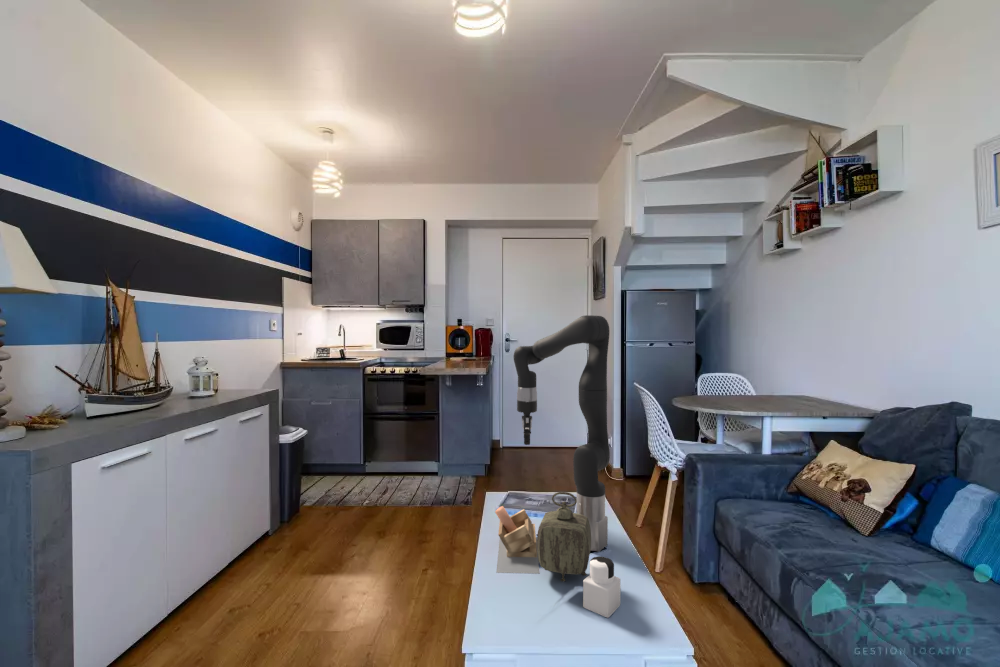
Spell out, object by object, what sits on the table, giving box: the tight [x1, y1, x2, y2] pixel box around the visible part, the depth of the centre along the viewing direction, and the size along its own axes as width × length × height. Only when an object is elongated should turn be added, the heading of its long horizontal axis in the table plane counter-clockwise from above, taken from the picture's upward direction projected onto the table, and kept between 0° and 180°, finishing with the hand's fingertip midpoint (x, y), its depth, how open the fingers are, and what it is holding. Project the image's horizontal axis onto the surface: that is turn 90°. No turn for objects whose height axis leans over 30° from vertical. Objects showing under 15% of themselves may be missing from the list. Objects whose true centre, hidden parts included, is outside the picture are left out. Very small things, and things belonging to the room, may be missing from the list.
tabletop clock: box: [536, 491, 591, 582], centre depth 131 cm, size 14×9×25 cm, turn 74°
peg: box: [494, 505, 517, 533], centre depth 148 cm, size 3×3×11 cm
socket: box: [498, 508, 537, 557], centre depth 148 cm, size 12×13×10 cm
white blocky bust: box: [582, 555, 621, 619], centre depth 119 cm, size 7×7×12 cm
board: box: [495, 536, 541, 575], centre depth 144 cm, size 23×12×1 cm, turn 177°
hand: (526, 441), depth 175 cm, fingers open, 8 cm apart
